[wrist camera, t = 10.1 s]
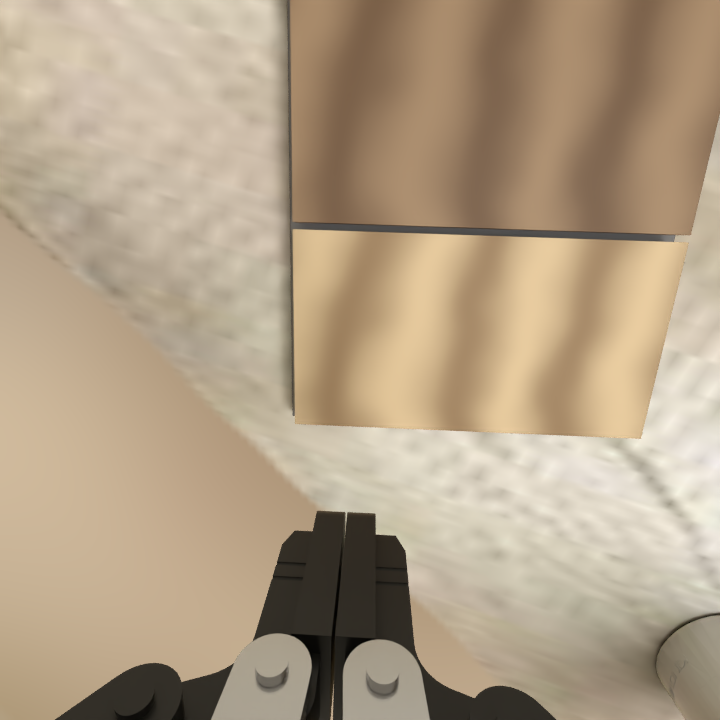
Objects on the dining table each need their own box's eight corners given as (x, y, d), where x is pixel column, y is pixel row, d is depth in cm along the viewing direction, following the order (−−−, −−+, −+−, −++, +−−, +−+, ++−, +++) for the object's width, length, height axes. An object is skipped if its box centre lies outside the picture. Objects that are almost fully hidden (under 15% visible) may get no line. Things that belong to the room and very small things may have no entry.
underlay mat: (719, -15, 23) (735, -26, 22) (622, 424, 30) (630, 430, 29) (290, -24, 23) (286, -36, 22) (295, 410, 31) (292, 415, 30)
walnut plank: (721, -7, 22) (753, -30, 20) (666, 235, 26) (690, 234, 24) (296, -17, 23) (289, -40, 21) (298, 222, 26) (292, 221, 24)
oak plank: (666, 241, 26) (688, 242, 24) (624, 425, 29) (640, 438, 27) (298, 229, 26) (292, 229, 24) (299, 412, 29) (295, 423, 28)
